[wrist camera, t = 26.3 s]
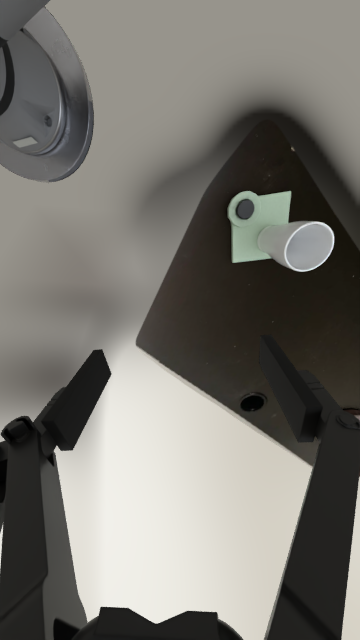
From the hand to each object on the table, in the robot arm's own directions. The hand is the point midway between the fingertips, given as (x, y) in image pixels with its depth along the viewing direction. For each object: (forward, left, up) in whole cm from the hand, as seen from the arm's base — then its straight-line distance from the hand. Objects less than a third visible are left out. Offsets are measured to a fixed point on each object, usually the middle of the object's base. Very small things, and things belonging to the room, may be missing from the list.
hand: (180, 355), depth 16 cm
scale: (-6, +16, -33) cm, 37 cm away
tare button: (-10, +13, -30) cm, 34 cm away
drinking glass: (-4, +18, -31) cm, 37 cm away
